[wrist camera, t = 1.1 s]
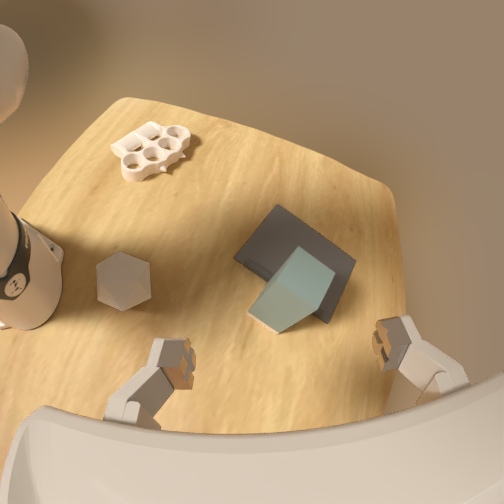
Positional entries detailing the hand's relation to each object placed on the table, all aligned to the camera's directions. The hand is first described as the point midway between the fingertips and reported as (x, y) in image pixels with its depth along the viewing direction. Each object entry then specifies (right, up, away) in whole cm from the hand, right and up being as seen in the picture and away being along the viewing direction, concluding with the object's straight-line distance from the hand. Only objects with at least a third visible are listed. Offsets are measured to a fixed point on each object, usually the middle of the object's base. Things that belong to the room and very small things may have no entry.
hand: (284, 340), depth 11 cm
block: (+2, -6, +34) cm, 35 cm away
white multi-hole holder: (-23, +25, +44) cm, 55 cm away
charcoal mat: (+8, +2, +41) cm, 42 cm away
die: (-21, -2, +29) cm, 36 cm away
